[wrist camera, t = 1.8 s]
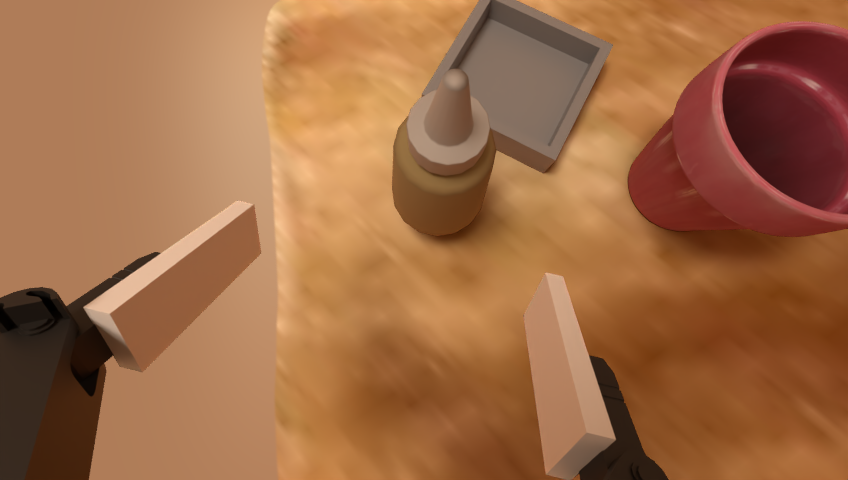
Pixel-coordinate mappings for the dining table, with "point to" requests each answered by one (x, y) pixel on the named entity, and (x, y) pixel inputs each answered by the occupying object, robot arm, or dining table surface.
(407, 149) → the squeeze bottle
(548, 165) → the tray
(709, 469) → the dining table surface
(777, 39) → the plant pot
